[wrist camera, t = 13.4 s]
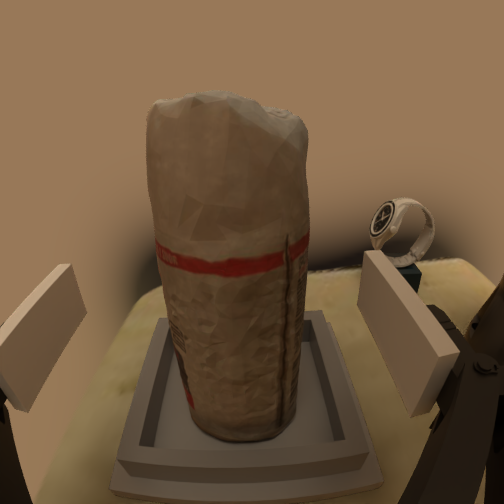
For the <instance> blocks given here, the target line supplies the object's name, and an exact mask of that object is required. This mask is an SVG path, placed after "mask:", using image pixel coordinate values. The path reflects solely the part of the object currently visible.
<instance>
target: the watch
mask: <svg viewBox="0 0 504 504" xmlns="http://www.w3.org/2000/svg"><path fill="white" fill-rule="evenodd" d="M411 205H412V206H416V207H419V208H421V209H422V210H423V212H424V213H425V217H426V219H427V220H426V224H425V226H424V229H423V230H422V232H421V234H420V236H419V237H418V239H417V241H416V242H415V244H414V245H413V246H412V247H411V249H410V251H411V252H409V253H408V254H406V253H383V254H384V255H385V256H386V257H387V258H388V260H389V261H390V262H391V263H392V264H393V265H394V267H395V268H396V269H397V270H398V271H399V273H400V274H401V275H402V276H403V277H404V279H405V280H406V281H407V282H408V284H409V285H410V286H411V287H412V289H413V290H414V291H415V292H416V294H417V292H418V288H419V284H420V280H421V275H422V273H421V272H420V270H419V269H418V268H417V266H416V265H415V264H414V262H416V261H419V260H420V259H421V258H422V256H423V255H424V254H425V253H426V251H427V250H428V248H429V246H430V245H431V242H432V241H433V238H434V230H435V225H434V224H435V223H434V219H433V216H432V214H431V213H430V212H429V210H427V208H425V207H424V206H423V205H421V204H420V203H419V202H417V201H416V200H413V199H411V198H398V199H394V200H389V201H387V202H385V203H384V204H383V205H382V206H381V207H380V208H379V209H378V210H377V212H376V213H375V215H374V217H373V219H372V221H371V224H370V230H369V233H370V236H371V242H372V245H373V247H374V249H375V250H379V249H381V248H382V246H383V244H384V242H385V241H387V240H389V238H391V237H392V236H393V235H394V234H395V233H396V232H397V230H398V228H399V226H400V224H401V221H402V217H403V215H404V213H405V212H406V211H407V210H408V207H407V206H411Z"/></svg>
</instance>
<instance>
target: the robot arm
mask: <svg viewBox="0 0 504 504" xmlns="http://www.w3.org/2000/svg"><path fill="white" fill-rule="evenodd" d="M357 306H358V308H359V310H360V312H361V314H362V316H363V318H364V320H365V322H366V324H367V326H368V328H369V330H370V332H371V334H372V336H373V338H374V340H375V342H376V344H377V346H378V348H379V350H380V352H381V354H382V356H383V359H384V361H385V363H386V365H387V367H388V369H389V371H390V374H391V376H392V378H393V380H394V382H395V384H396V387H397V389H398V391H399V393H400V396H401V398H402V400H403V402H404V405H405V407H406V409H407V412H408V414H409V416H410V418H411V417H415V416H418V415H422V414H426V413H429V412H430V411H431V409H432V407H433V405H434V404H435V402H437V404H438V406H439V408H440V411H439V413H438V414H437V416H436V418H435V419H434V421H433V422H432V424H431V426H430V427H429V428H430V429H432V430H431V433H430V435H429V438H428V440H427V443H426V445H425V448H424V450H423V452H422V455H421V457H420V459H419V461H418V464H417V466H416V468H415V470H414V472H413V475H412V477H411V479H410V481H409V483H408V485H407V487H406V489H405V491H404V493H403V495H402V496H401V498H400V500H399V502H398V504H474V503H475V500H476V497H477V494H478V491H479V487H480V484H481V481H482V477H483V474H484V470H485V466H486V483H485V498H484V504H504V275H503V277H502V279H501V281H500V283H499V284H498V286H497V287H496V289H495V290H494V291H493V293H492V294H491V296H490V297H489V298H488V300H487V301H486V302H485V304H484V305H483V306H482V308H481V309H480V310H479V311H478V313H477V314H476V315H475V317H474V318H473V319H472V321H471V322H470V324H469V326H468V329H467V331H466V334H465V336H464V337H463V335H462V334H461V333H460V331H459V330H458V329H456V326H455V325H454V324H453V322H451V320H450V319H449V317H448V316H447V315H446V314H445V312H444V311H442V310H441V309H439V308H438V307H436V306H435V305H425V304H424V302H423V301H422V300H421V299H420V297H419V296H418V295H417V294H416V292H415V291H414V290H413V289H412V287H411V286H410V285H409V284H408V282H407V281H406V280H405V279H404V277H403V276H402V275H401V274H400V273H399V271H398V270H397V269H396V268H395V267H394V265H393V264H392V263H391V262H390V261H389V260H388V258H387V257H386V256H385V255H384V254H383V253H382V251H381V250H374V251H364V259H363V267H362V274H361V282H360V289H359V295H358V302H357ZM86 314H87V311H86V308H85V305H84V303H83V300H82V297H81V294H80V290H79V287H78V284H77V281H76V278H75V275H74V271H73V268H72V264H59V265H58V266H57V267H56V268H55V269H54V270H53V271H52V272H51V273H50V274H49V275H48V276H47V277H46V278H45V279H44V280H43V281H42V282H41V283H40V284H39V285H38V286H37V287H36V288H35V289H34V291H33V292H32V293H31V294H30V295H29V296H28V297H27V298H26V299H25V300H24V301H23V302H22V304H21V305H20V306H19V307H18V308H17V309H16V310H15V311H14V312H13V314H12V315H11V316H10V317H9V318H8V319H7V321H5V322H4V323H3V324H2V325H1V326H0V504H33V503H32V500H31V497H30V494H29V492H28V489H27V486H26V483H25V479H24V476H23V473H22V469H21V466H20V462H19V458H18V454H17V451H16V446H15V442H14V438H13V433H12V428H11V423H10V418H9V412H8V409H7V407H6V406H5V404H4V403H5V401H6V399H8V400H9V401H10V403H11V404H12V406H13V407H14V408H15V409H17V410H21V411H24V412H27V413H28V412H29V411H30V409H31V407H32V405H33V403H34V401H35V399H36V397H37V395H38V394H39V392H40V390H41V388H42V386H43V384H44V383H45V381H46V379H47V377H48V376H49V374H50V372H51V371H52V369H53V367H54V365H55V363H56V362H57V360H58V358H59V357H60V355H61V354H62V352H63V350H64V349H65V347H66V345H67V344H68V342H69V340H70V338H71V337H72V336H73V334H74V333H75V331H76V329H77V327H78V326H79V325H80V323H81V322H82V320H83V318H84V317H85V315H86Z"/></svg>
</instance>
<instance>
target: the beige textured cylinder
mask: <svg viewBox="0 0 504 504" xmlns="http://www.w3.org/2000/svg"><path fill="white" fill-rule="evenodd" d="M307 149H308V130H307V128H306V127H305V124H304V123H303V121H302V120H301V119H300V117H299V116H296V115H293V114H292V113H290V112H289V111H288V110H281V109H278V108H272V107H263V106H261V105H260V104H259V103H257V102H256V101H255V100H253V99H249V98H244V97H242V96H239V95H237V94H235V93H232V92H229V91H217V90H212V91H208V92H202V93H201V92H200V93H189V94H186V95H185V96H184V97H183V98H177V99H167V100H166V99H159V100H158V101H156V102H154V104H153V105H152V106H151V107H150V109H149V111H148V115H147V132H146V161H147V162H146V163H147V182H148V192H149V197H150V201H151V206H152V212H153V221H154V231H155V241H156V254H157V260H158V268H159V273H160V276H161V279H162V285H163V293H164V298H165V304H166V307H167V314H168V323H169V327H170V330H171V336H172V340H173V346H174V351H175V355H176V358H177V362H178V366H179V370H180V376H181V379H182V384H183V387H184V391H185V395H186V398H187V401H188V405H189V410H190V414H191V418H192V420H193V421H194V422H195V424H196V425H197V426H198V427H199V428H200V429H201V430H202V431H204V432H206V433H208V434H210V435H212V436H214V437H216V438H219V439H221V440H224V441H255V440H258V441H259V440H261V439H266V438H271V437H274V436H275V435H277V434H278V433H279V432H281V431H282V430H283V429H284V428H285V427H286V426H287V425H288V424H289V423H290V421H291V420H292V419H293V418H294V416H295V413H296V408H297V407H296V405H297V404H296V398H297V393H298V377H299V366H300V358H301V343H302V334H303V326H304V310H305V294H306V283H307V264H308V245H309V232H310V231H309V230H310V220H309V219H310V218H309V198H308V186H307V180H306V157H307Z"/></svg>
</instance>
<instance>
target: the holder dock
mask: <svg viewBox="0 0 504 504" xmlns="http://www.w3.org/2000/svg"><path fill="white" fill-rule="evenodd" d="M296 404H297V405H296V407H297V408H296V413H295V416H294V418H293V419H292V420H291V421H290V423H289V424H288V425H287V426H286V427H285V428H284V429H283V430H282V431H281V432H279V433H278V434H277V435H275V436H274V437H271V438H266V439H261V440H259V441H258V440H255V441H224V440H221V439H219V438H216V437H214V436H212V435H210V434H208V433H206V432H204V431H202V430H201V429H200V428H199V427H198V426H197V425H196V424H195V422H194V421H193V420H192V418H191V414H190V410H189V405H188V401H187V398H186V395H185V391H184V387H183V384H182V379H181V376H180V370H179V366H178V362H177V358H176V355H175V351H174V346H173V340H172V336H171V330H170V327H169V323H168V318H159V320H158V322H157V325H156V328H155V331H154V333H153V336H152V339H151V342H150V345H149V348H148V351H147V354H146V357H145V360H144V364H143V367H142V370H141V373H140V376H139V379H138V383H137V386H136V389H135V393H134V396H133V399H132V403H131V406H130V409H129V413H128V416H127V420H126V423H125V427H124V431H123V434H122V438H121V442H120V445H119V449H118V453H117V457H116V461H115V465H114V469H113V473H112V477H111V481H110V485H109V490H110V491H111V492H112V493H114V494H115V495H116V496H121V497H126V498H132V499H138V500H145V501H152V502H159V503H168V504H293V503H301V502H309V501H316V500H323V499H329V498H335V497H340V496H346V495H351V494H355V493H360V492H364V491H368V490H373V489H377V488H379V487H380V486H381V485H382V483H383V482H384V479H383V475H382V472H381V469H380V466H379V462H378V459H377V456H376V453H375V450H374V447H373V443H372V440H371V437H370V434H369V431H368V428H367V425H366V422H365V419H364V416H363V413H362V410H361V407H360V404H359V401H358V398H357V396H356V393H355V390H354V387H353V384H352V381H351V378H350V376H349V373H348V370H347V367H346V364H345V362H344V359H343V356H342V353H341V351H340V348H339V345H338V342H337V340H336V337H335V334H334V332H333V329H332V326H331V324H330V322H328V323H326V320H325V318H324V315H323V312H322V310H318V311H306V312H304V326H303V334H302V343H301V358H300V366H299V377H298V393H297V398H296Z"/></svg>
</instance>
